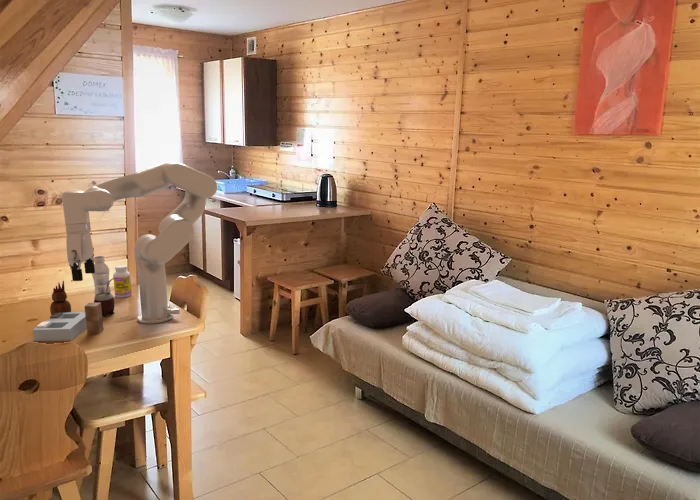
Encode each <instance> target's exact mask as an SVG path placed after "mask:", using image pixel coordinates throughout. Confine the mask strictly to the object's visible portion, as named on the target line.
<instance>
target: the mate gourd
mask: <svg viewBox="0 0 700 500" xmlns="http://www.w3.org/2000/svg"><path fill="white" fill-rule="evenodd" d="M112 281H114V278H113V277H112V278H111V279H109V282H108V283H107V289H106V293H99V294H97V295H96V296H95V295H94V297H95V298H94V297H93V303H101V309H102V316H103V317H104V318H107V317H108V316H107V315H115V312H114V311H115V298H114V295H113V293H107V291H108V287H110V284H111V282H112Z"/></svg>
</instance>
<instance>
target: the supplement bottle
mask: <svg viewBox="0 0 700 500" xmlns="http://www.w3.org/2000/svg"><path fill="white" fill-rule="evenodd" d="M114 270H115V272H114V273H113V275H112V276H113V277H112V278H114V279H113V291H114V296H115V298H118V299H119V298H122V299H123V298H129V297H131V295H132V294H133V293H132V282H131V281H132V279H131V273H130V271H128V265H126V264H120V265H115V266H114Z"/></svg>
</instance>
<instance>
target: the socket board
mask: <svg viewBox="0 0 700 500" xmlns="http://www.w3.org/2000/svg"><path fill="white" fill-rule="evenodd" d="M85 329H87V326H86V316H85V311H79V312H78V311H77V312H76V311H75V312H72V311H71V312H65V313H54V314H53V315H52V316H51V315H50V316H49V317H48V318H47V319H46V320H45V321H42V322H40V323H39V324H37V325H36V327H34V328H33V329H32V333H33V334H32V335H33V340H34V342H53V341H54V342H57V341H58V342H59V341H63V342H64V341H72V340H73V339H75V338H76V337H77V336H79V334H80V333H81V332H83V331H84V330H85Z"/></svg>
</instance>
